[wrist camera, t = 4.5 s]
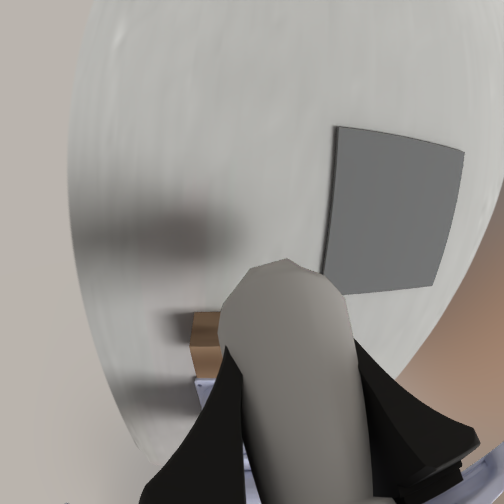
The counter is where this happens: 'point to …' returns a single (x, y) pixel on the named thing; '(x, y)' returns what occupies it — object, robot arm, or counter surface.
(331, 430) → the salt shaker
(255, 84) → the counter surface
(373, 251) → the rubber mat
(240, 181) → the counter surface
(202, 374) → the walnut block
